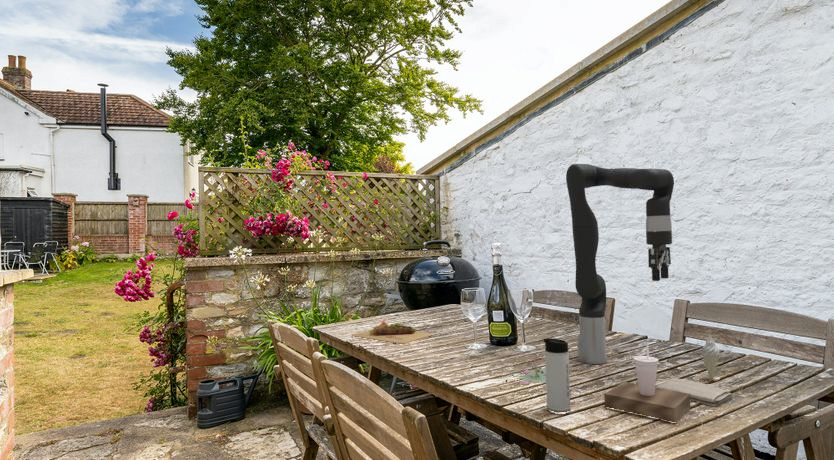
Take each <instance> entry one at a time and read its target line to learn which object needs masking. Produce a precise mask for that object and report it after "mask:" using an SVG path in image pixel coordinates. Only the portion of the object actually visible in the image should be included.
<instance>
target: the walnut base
mask: <svg viewBox="0 0 834 460" xmlns="http://www.w3.org/2000/svg"><path fill="white" fill-rule="evenodd" d="M605 407H609V408H614V409H619V410H624V411H627V412H633V413H637V414H642V415H646V416H651V417H655V418H659V419H663V420H667V421H672V422H677V421H678V420H679V419H680V418H681V417H682V416H683V415H684V414H685V413H686V412H687V411H688V410H689V409H690V408H692V407H691V401H690V394H688V393H682V392H677V391H671V390H666V389H661V388H655V394H654V395H653V396H646V395H642V394H640V391H639V385H638V383H633V382H627V381H622V382H621V383H619V384H618V385H616V386H614V387H613V388H611V389H610V390H607V391H606V392H605V393H604V408H605ZM689 411H690V410H689ZM686 414H687V413H686ZM686 414H685V415H686ZM685 415H684V416H685ZM684 416H683V417H684ZM683 417H682V418H683ZM682 418H681V419H682ZM681 419H680V420H681ZM680 420H679V421H680ZM679 421H678V422H679ZM678 422H677V423H678Z"/></svg>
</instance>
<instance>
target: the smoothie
mask: <svg viewBox="0 0 834 460" xmlns="http://www.w3.org/2000/svg"><path fill="white" fill-rule="evenodd" d="M645 345H646V346H645V347H646V355H637V356H634V357H633V363H634V365H635V372H636V378H637V384H638V385H639V391H640V394H642V395H646V396H653V395H654V394H655V387H656V381H657V375H658V374H657V371H658V365H659V364H660V363H659V358H657V357H653V356H650V348H649V342H646V343H645Z"/></svg>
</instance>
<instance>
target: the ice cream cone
mask: <svg viewBox="0 0 834 460" xmlns="http://www.w3.org/2000/svg"><path fill="white" fill-rule="evenodd" d="M701 350H702V352H701V356H702V359H703V361H704V365H705V368H706V370H707V373H708V376H709V380H710V381H711V380H713V378H714V376H715V372H716V368H717V363H718V361H719V358H720V349H719V347H718V346H717V345H716V341H715V340H714V339H713V337H712V335H711V333H709V334H708V337H707V339H706V341H705V344H704V345H703V347H702V348H701Z"/></svg>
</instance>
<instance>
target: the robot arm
mask: <svg viewBox="0 0 834 460" xmlns="http://www.w3.org/2000/svg"><path fill="white" fill-rule="evenodd" d="M565 179H566V180H565V181H566V188H567V192H568V198H569V203H570V211H571V212H570V213H571V214H570V215H571V223H572V224H571V225H572V228H571V230H572V237H573V238H572V239H573V248H574V256H575V280H574V281H575V284H574V285H575V290H576V293H577V294H578V295H579V297H581V302H580V303H581V304H580V307H579V308H578V316H579V317H578V318H579V319H578V320H579V323H578V324H579V335H578V336H577V350H578V351H577V353H578V355H577V356H578V361H580V362H583V363H586V364H589V365H590V364H591V365H592V364H593V365H600V364H601V365H602V364H606V363H607V339H606V335H607V334H606V315H605V314H606V313H605V312H606V309H607V287H606V286H607V285H606V281H605V278H603V276H601V275H600V274H598V273H597V266H596V265H597V264H596V262H597V261H596V257H597V253H598V247H599V239H600V237H599V236H600V235H599V224H598V220H597V218H596V215H595V213H594V211H593V210H592V208H591V207H590V205H589V204H588V203H589V202H588V201H587V200H588V199H587V197H586V189H588V188H595V187H601V186H602V187H603V186H608V187H609V186H610V187H613V188H619V189H630V190H631V189H632V190H634V189H635V190H643V191H644V190H645V191H653V195H652V198H649V199H647V200H646V203H645V208H646V209H645V215H646V217H645V218H646V219H645V238H646V245H649V246H652V248H648V250H647V251H648V252H647V255H648V258H647V259H648V265H647V266H648V268H650V269H651V280H652V281H653V282H660V281H661V279H666V280H667V279H669V267H670V266H671V264H672V262H671V260H672V259H671V247H670V246H667V245H672V244H673V234H672V233H673V232H672V231H673V230H672V229H673V228H672V226H673V225H672V218H671V199H672V195H673V190H674V188H675V187H674V185H675V180H674V179H675V178H674V176H673V174H672V171H670V170H668V169H663V168H662V169H661V168H636V167H635V168H634V167H633V168H632V167H618V168H605V167H600V166H596V165H592V164H588V163H574V164H571V165H569V167H568V168H567V170H566V175H565Z"/></svg>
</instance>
